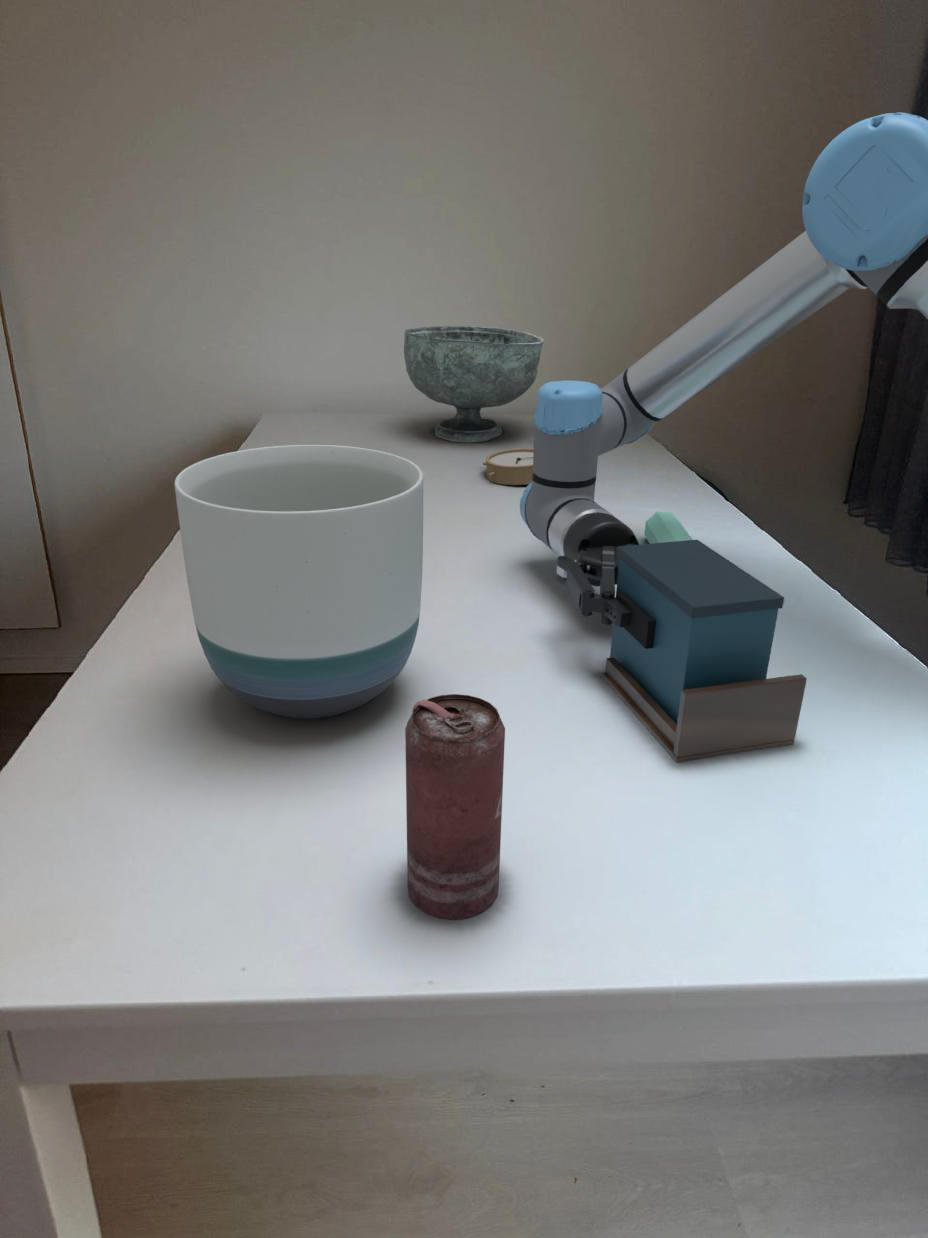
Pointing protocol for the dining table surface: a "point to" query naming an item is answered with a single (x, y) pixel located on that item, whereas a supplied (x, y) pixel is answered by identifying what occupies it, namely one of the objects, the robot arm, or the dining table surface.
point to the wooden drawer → (716, 714)
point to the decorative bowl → (471, 373)
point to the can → (454, 805)
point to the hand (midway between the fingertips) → (695, 629)
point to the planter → (304, 572)
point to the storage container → (693, 620)
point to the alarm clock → (510, 467)
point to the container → (665, 529)
